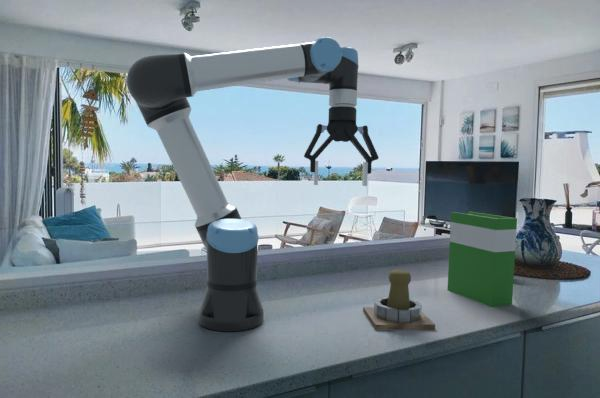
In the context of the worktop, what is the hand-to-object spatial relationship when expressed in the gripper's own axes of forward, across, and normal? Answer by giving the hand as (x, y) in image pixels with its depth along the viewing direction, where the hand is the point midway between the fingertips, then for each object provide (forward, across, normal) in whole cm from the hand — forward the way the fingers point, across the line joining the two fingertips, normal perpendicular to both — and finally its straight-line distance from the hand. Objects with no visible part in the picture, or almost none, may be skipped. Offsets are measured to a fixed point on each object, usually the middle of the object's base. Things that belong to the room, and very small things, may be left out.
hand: (340, 185), depth 127 cm
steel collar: (+31, -12, +18) cm, 37 cm away
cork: (+31, -12, +18) cm, 38 cm away
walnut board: (+32, -12, +18) cm, 38 cm away
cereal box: (+32, -42, -2) cm, 53 cm away
